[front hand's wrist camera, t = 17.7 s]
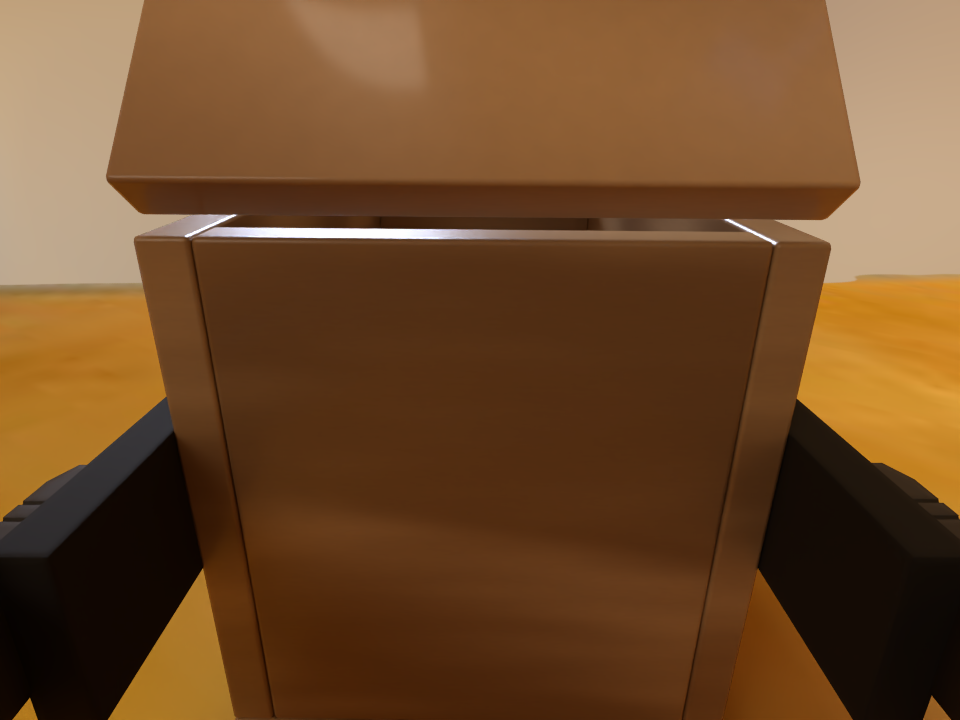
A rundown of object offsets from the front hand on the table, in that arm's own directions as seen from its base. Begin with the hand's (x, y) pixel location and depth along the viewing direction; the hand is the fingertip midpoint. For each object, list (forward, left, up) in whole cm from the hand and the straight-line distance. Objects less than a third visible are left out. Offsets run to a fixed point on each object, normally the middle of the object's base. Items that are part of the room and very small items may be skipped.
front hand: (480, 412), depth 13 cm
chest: (+3, -4, -6) cm, 8 cm away
